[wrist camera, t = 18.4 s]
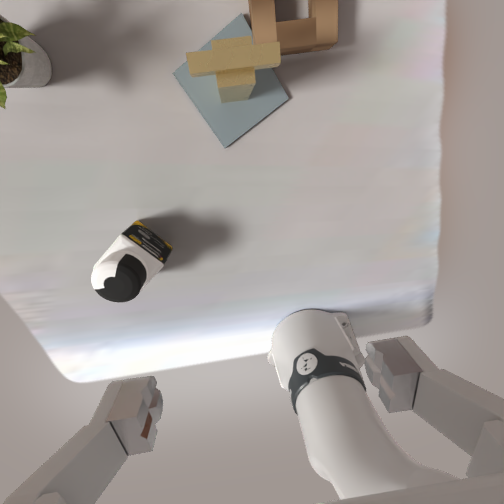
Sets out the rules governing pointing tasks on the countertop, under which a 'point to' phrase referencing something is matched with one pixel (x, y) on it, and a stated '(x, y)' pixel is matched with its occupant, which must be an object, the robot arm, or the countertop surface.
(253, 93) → the slate mat
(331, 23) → the socket block
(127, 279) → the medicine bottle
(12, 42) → the house plant
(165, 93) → the countertop surface
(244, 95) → the t key
